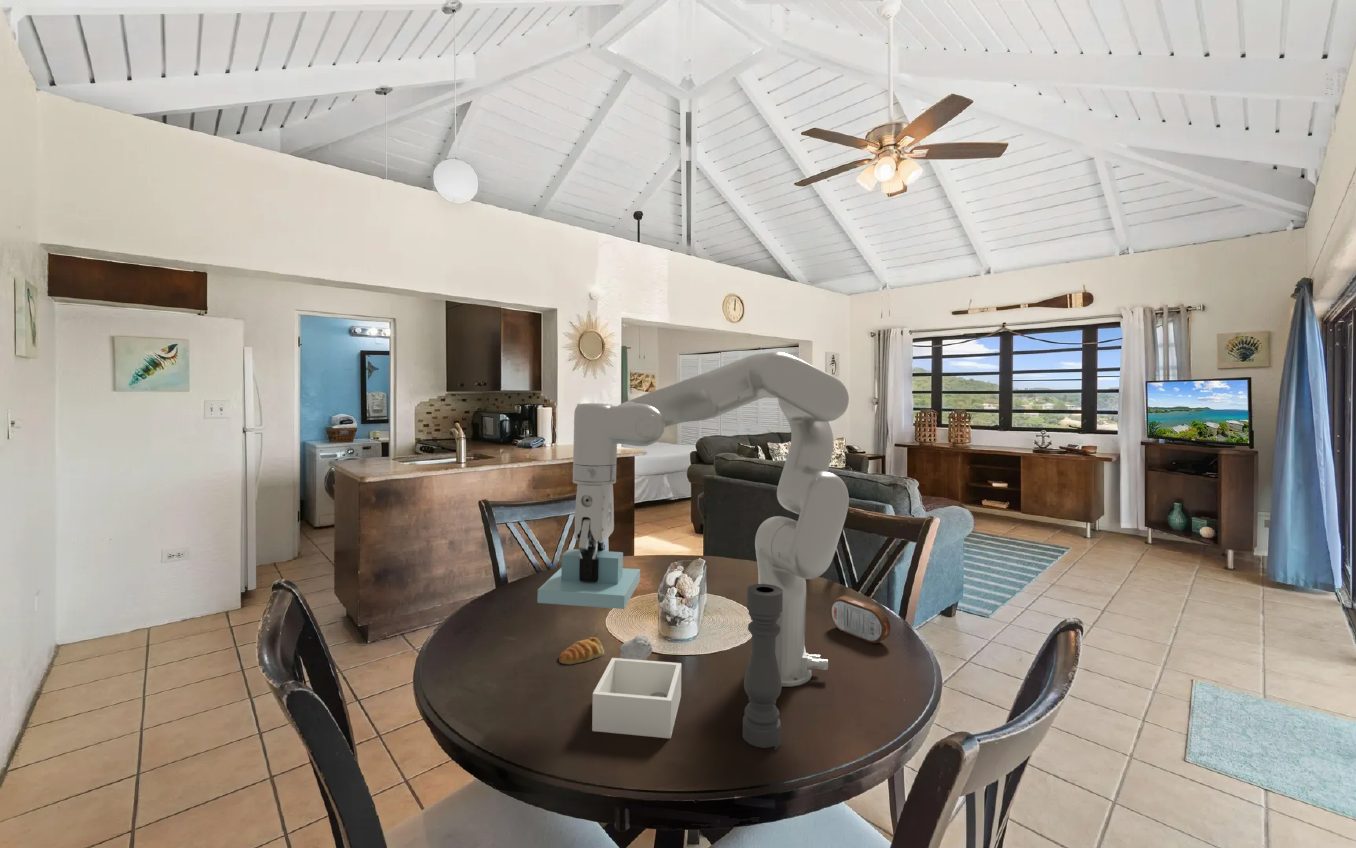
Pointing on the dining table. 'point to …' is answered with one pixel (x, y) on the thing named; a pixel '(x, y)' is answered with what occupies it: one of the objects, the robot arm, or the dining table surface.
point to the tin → (860, 619)
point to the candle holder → (763, 667)
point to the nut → (658, 695)
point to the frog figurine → (636, 648)
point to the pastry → (582, 651)
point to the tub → (637, 698)
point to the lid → (604, 593)
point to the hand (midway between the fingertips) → (592, 576)
